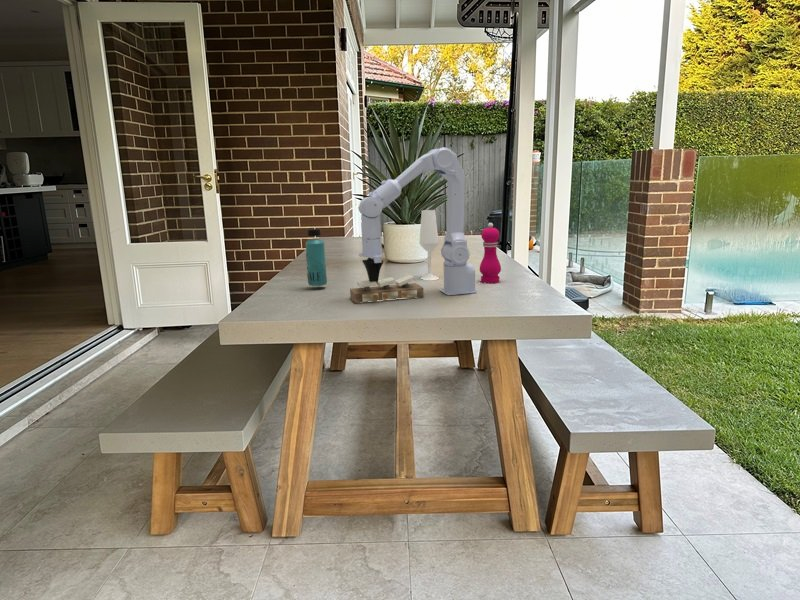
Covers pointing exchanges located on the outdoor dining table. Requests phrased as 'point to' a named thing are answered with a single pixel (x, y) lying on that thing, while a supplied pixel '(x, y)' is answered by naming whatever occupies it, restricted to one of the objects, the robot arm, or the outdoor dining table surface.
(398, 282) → the switch
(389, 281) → the switch
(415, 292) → the switch unit
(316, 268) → the beverage bottle
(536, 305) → the outdoor dining table surface
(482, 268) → the pepper mill
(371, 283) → the switch
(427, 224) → the champagne flute
